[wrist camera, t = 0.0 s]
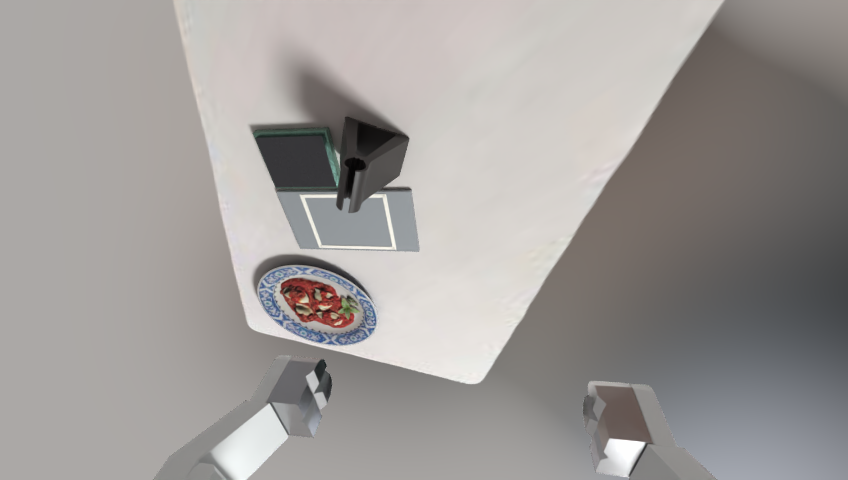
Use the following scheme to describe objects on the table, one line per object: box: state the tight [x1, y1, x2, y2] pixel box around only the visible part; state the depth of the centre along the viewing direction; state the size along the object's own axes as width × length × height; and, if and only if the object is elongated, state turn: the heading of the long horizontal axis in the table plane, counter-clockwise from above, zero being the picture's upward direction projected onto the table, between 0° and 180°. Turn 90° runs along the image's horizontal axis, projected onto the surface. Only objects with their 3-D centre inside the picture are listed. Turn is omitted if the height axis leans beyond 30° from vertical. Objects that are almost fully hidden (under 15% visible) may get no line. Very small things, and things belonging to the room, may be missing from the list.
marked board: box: [277, 190, 419, 252], centre depth 58 cm, size 12×22×1 cm, turn 95°
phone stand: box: [336, 117, 409, 213], centre depth 44 cm, size 9×6×12 cm, turn 74°
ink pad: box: [253, 128, 340, 188], centre depth 51 cm, size 9×11×2 cm
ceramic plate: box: [257, 265, 378, 346], centre depth 73 cm, size 26×26×3 cm
